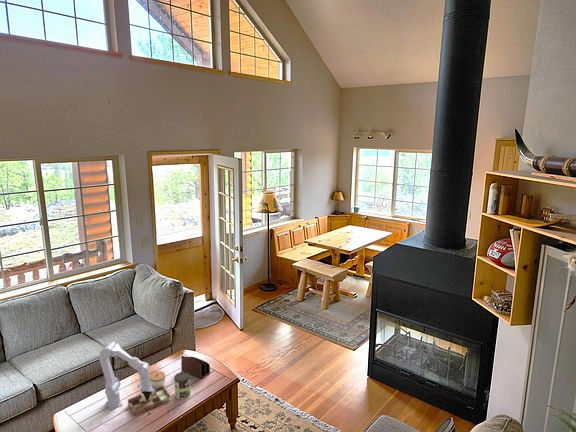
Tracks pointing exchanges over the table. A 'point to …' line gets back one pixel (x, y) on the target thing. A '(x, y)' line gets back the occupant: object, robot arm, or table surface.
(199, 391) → the table surface
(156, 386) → the lidded jar
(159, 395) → the board
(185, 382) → the coffee can
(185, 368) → the letter holder
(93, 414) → the table surface
